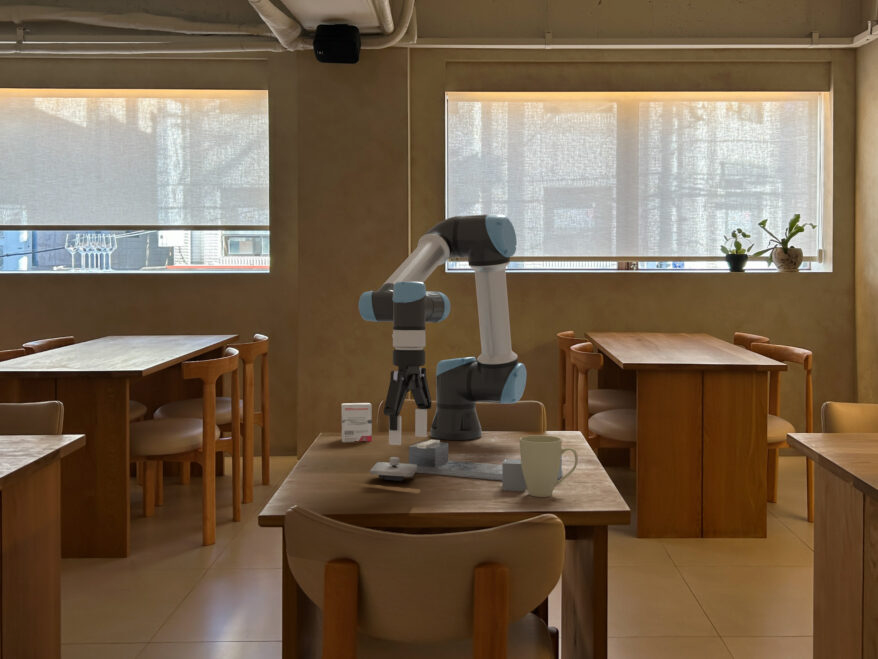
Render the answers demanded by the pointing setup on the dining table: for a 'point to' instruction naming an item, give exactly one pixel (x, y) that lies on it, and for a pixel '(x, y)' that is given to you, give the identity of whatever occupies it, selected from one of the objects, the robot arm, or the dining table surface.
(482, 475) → the rail
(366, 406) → the ink box
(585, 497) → the dining table surface
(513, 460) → the block
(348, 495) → the dining table surface
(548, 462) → the mug
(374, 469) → the grey cover with knob
